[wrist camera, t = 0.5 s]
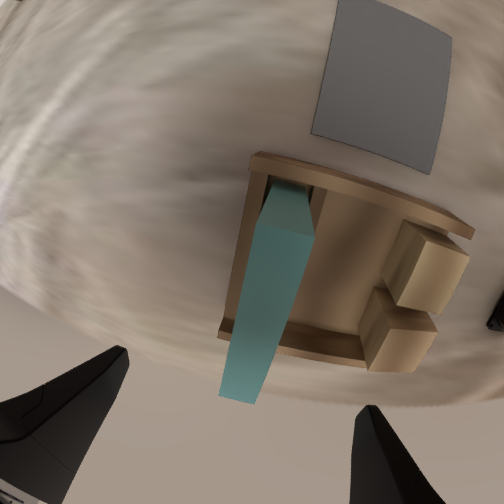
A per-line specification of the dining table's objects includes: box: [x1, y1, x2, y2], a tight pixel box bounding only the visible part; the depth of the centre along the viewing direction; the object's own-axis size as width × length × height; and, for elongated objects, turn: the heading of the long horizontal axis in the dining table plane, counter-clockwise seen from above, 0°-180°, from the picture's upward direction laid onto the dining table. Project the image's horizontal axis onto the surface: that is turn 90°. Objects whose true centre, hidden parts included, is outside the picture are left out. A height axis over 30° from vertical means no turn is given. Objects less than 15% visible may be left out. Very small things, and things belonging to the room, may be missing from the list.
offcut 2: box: [358, 287, 438, 372], centre depth 18 cm, size 4×4×5 cm
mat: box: [311, 0, 452, 175], centre depth 13 cm, size 9×12×1 cm
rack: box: [217, 151, 475, 368], centre depth 18 cm, size 15×13×4 cm
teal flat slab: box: [219, 179, 315, 404], centre depth 15 cm, size 2×10×9 cm, turn 169°
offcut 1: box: [381, 219, 470, 315], centre depth 16 cm, size 4×4×4 cm
